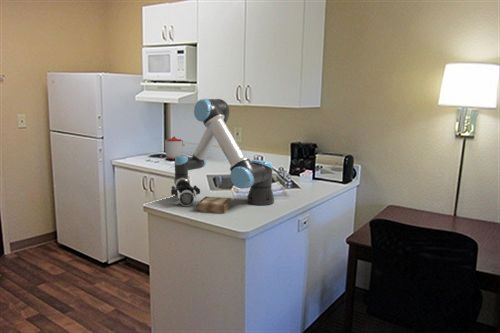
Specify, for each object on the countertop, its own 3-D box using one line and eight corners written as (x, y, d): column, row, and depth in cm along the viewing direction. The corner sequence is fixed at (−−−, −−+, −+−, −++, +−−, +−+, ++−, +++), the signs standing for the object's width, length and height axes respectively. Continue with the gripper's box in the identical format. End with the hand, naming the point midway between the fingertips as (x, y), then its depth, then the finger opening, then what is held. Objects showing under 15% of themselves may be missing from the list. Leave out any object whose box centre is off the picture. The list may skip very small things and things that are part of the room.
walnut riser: (230, 205, 219) (231, 197, 218) (224, 213, 204) (224, 205, 204) (205, 203, 221) (205, 195, 221) (197, 211, 207) (197, 203, 206)
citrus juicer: (186, 160, 355) (186, 137, 351) (166, 161, 350) (165, 137, 346) (183, 157, 370) (183, 135, 366) (163, 158, 364) (163, 135, 361)
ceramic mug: (193, 201, 223) (193, 188, 222) (194, 206, 215) (193, 191, 214) (173, 202, 221) (173, 188, 220) (173, 206, 213) (173, 192, 212)
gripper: (201, 191, 237) (207, 201, 216) (164, 192, 232) (166, 203, 210) (201, 178, 236) (207, 187, 214) (164, 179, 231) (166, 189, 209)
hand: (187, 195), depth 212 cm, fingers closed on ceramic mug, 8 cm apart
